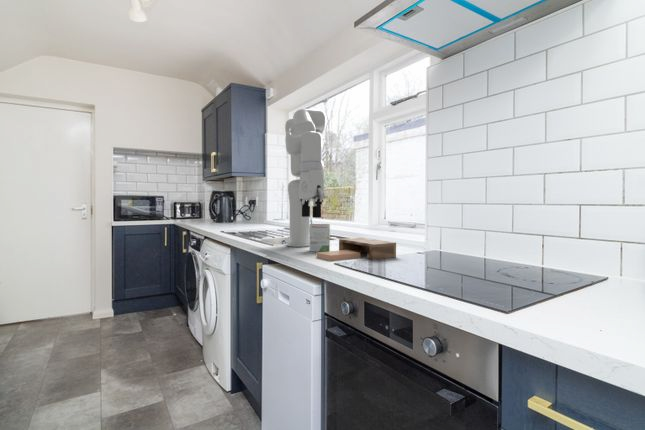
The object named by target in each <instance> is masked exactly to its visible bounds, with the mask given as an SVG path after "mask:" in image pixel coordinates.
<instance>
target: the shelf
mask: <svg viewBox="0 0 645 430" xmlns="http://www.w3.org/2000/svg"><path fill="white" fill-rule="evenodd" d="M339 250H350V251H355V252H360V253H366V258H367V259H370V260H373V259H376V260H383V258H385V259H392V258H391V257H394V258H397V242H396V241H395V242H393V241H388V240H379V239H373V238H365V237H350V238H339V239H338V251H339Z"/></svg>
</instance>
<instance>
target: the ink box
mask: <svg viewBox="0 0 645 430" xmlns="http://www.w3.org/2000/svg"><path fill="white" fill-rule="evenodd" d="M330 239H331V224H330V223H309V246H308V249H309V250H308V251H309V252H328V251H331V250H330V247H331V246H330V245H331V244H330V243H331V240H330Z"/></svg>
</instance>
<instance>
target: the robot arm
mask: <svg viewBox="0 0 645 430" xmlns="http://www.w3.org/2000/svg"><path fill="white" fill-rule="evenodd" d="M292 117H293V118H290V119H288V120H286V121H285V125H284V126H285V127H284V128H285V141H284V142H285V149H286V152H287V154H288V155H289V156H290V172H291V175H292V176H293V177H296V178H299V179H293V180H291V181H290V182H288V184H287V192H288V194H287V195H288V200H289V201H288V202H289V237H288V238H287V239H288V240H289V241H288V242H286V243H285V244H286V245H285V246H288V247H293V248H295V247H296V248H300V247H301V248H302V247H309V239H310V217H311V206H310V202H311V200H312V204H313V206H312V218H319V219H320V218H321V217H322V206H323V202H324V198H325V197H326V195H325V169H324V168H325V167H324V166H325V165H324V162H323V160H322V159H323V152H324V148H325V147H324V146H325V145H324V141H323V133H324V131H325V129H326V126H327V119H328V118H327V115H326V113H325V111H323V110H321V109H312V108H311V109H307V108H301V109H298V110H296V111H295V112H294V114H293V115H292Z"/></svg>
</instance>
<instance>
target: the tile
mask: <svg viewBox="0 0 645 430" xmlns="http://www.w3.org/2000/svg"><path fill="white" fill-rule="evenodd" d="M316 258H317V259H320V260H321V259H322V260H325V261H328V262H331V261H332V262H333V261H341V260H349V259H350V260H351V259H361V252H355V251H350V250H339V249H338V250H329V251H328V252H319V251H316Z"/></svg>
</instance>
